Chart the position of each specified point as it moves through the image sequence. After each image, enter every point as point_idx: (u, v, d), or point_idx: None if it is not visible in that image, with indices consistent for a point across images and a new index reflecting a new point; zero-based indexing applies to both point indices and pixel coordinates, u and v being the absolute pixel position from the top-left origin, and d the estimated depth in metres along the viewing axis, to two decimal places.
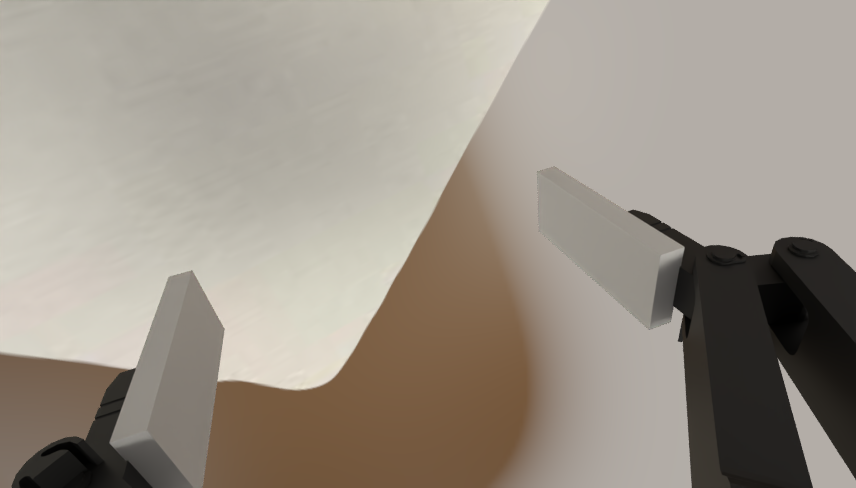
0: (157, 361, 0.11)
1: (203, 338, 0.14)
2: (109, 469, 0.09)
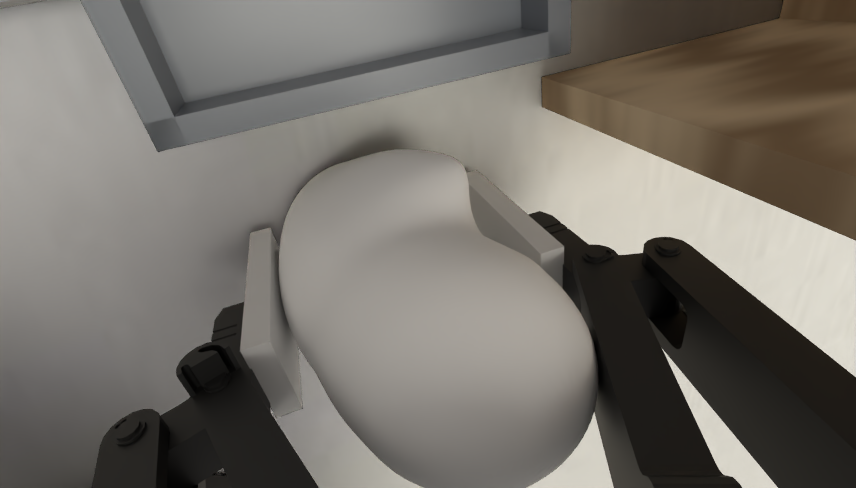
0: (262, 294, 0.13)
1: None
2: (244, 375, 0.10)
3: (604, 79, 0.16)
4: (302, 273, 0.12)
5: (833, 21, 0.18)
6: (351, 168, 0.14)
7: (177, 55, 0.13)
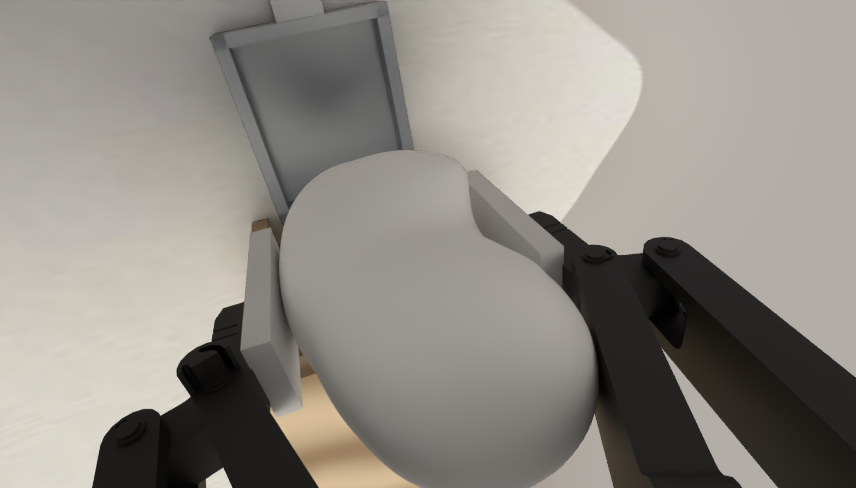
0: (262, 294, 0.13)
1: None
2: (244, 375, 0.10)
3: None
4: (303, 274, 0.12)
5: None
6: (351, 169, 0.14)
7: (253, 47, 0.29)
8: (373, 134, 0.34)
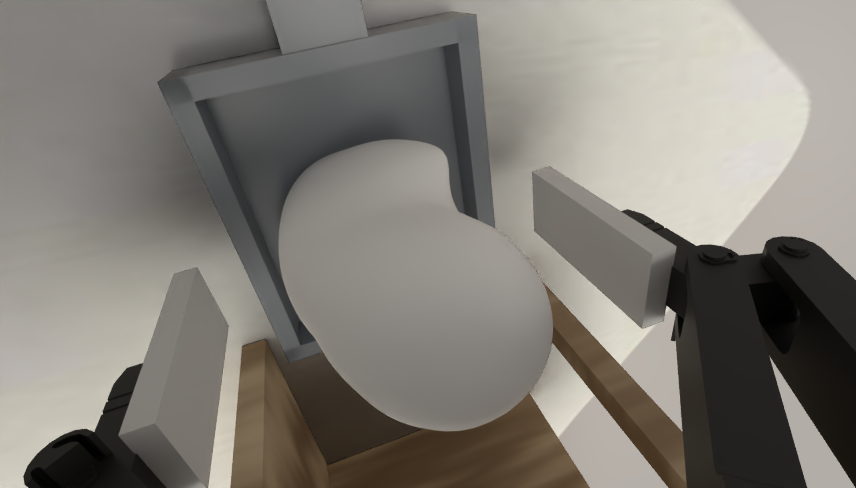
0: (164, 356, 0.11)
1: (208, 334, 0.14)
2: (118, 462, 0.09)
3: (273, 386, 0.22)
4: (300, 243, 0.14)
5: None
6: (346, 155, 0.16)
7: (241, 93, 0.17)
8: None
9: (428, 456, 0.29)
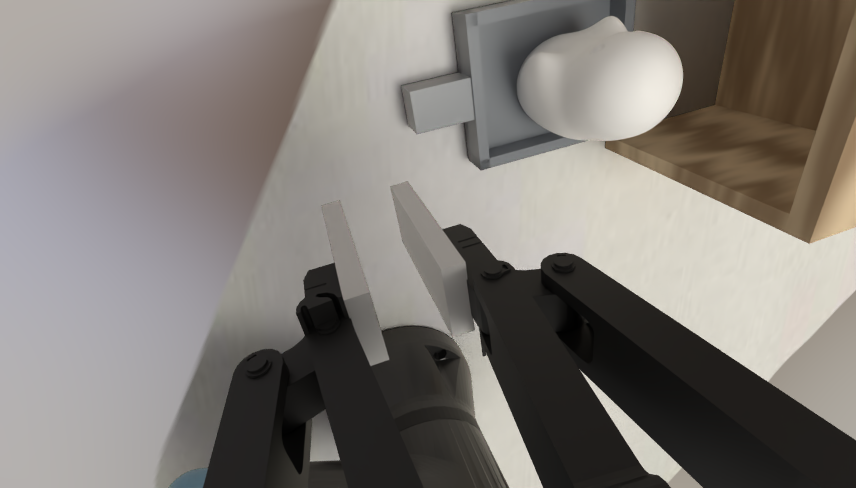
0: (349, 255, 0.14)
1: None
2: (351, 325, 0.11)
3: (635, 138, 0.38)
4: (565, 133, 0.31)
5: (735, 110, 0.40)
6: (525, 96, 0.32)
7: None
8: (568, 27, 0.33)
9: (750, 31, 0.37)
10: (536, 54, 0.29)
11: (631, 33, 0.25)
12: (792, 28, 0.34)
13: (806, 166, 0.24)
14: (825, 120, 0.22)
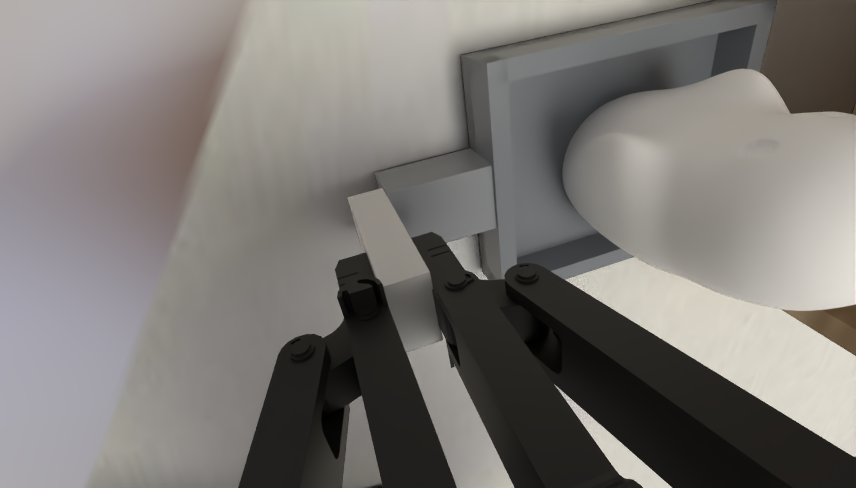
0: (381, 244, 0.14)
1: None
2: (389, 313, 0.12)
3: None
4: (654, 266, 0.18)
5: None
6: (581, 194, 0.19)
7: None
8: (649, 76, 0.20)
9: None
10: (614, 137, 0.16)
11: (840, 123, 0.12)
12: None
13: None
14: None
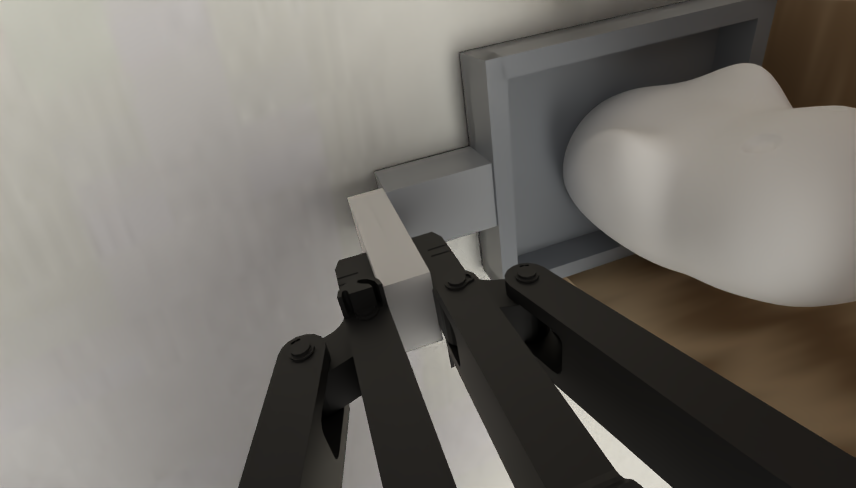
0: (381, 244, 0.14)
1: None
2: (389, 313, 0.12)
3: (596, 278, 0.24)
4: (656, 263, 0.18)
5: None
6: (582, 191, 0.19)
7: None
8: (650, 71, 0.20)
9: None
10: (615, 133, 0.16)
11: (842, 117, 0.12)
12: None
13: None
14: None
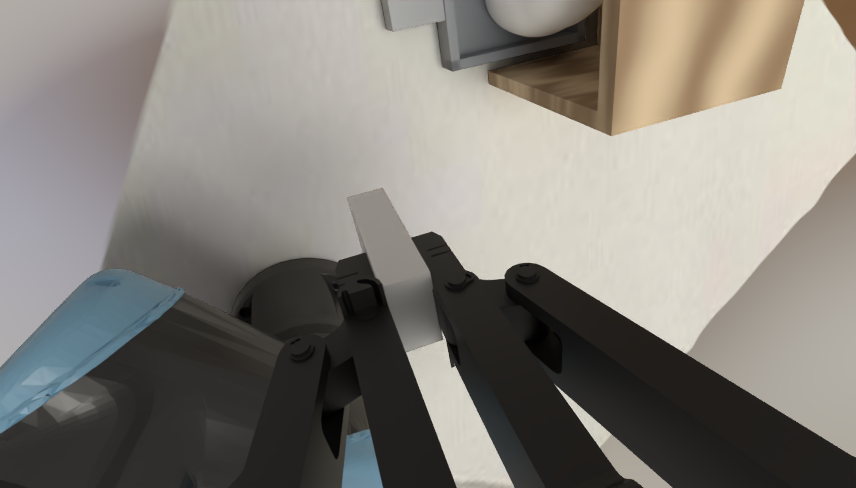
0: (381, 244, 0.14)
1: None
2: (389, 313, 0.12)
3: (510, 71, 0.40)
4: (524, 27, 0.34)
5: None
6: None
7: None
8: None
9: None
10: None
11: None
12: None
13: (600, 60, 0.26)
14: (605, 12, 0.25)
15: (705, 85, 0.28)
